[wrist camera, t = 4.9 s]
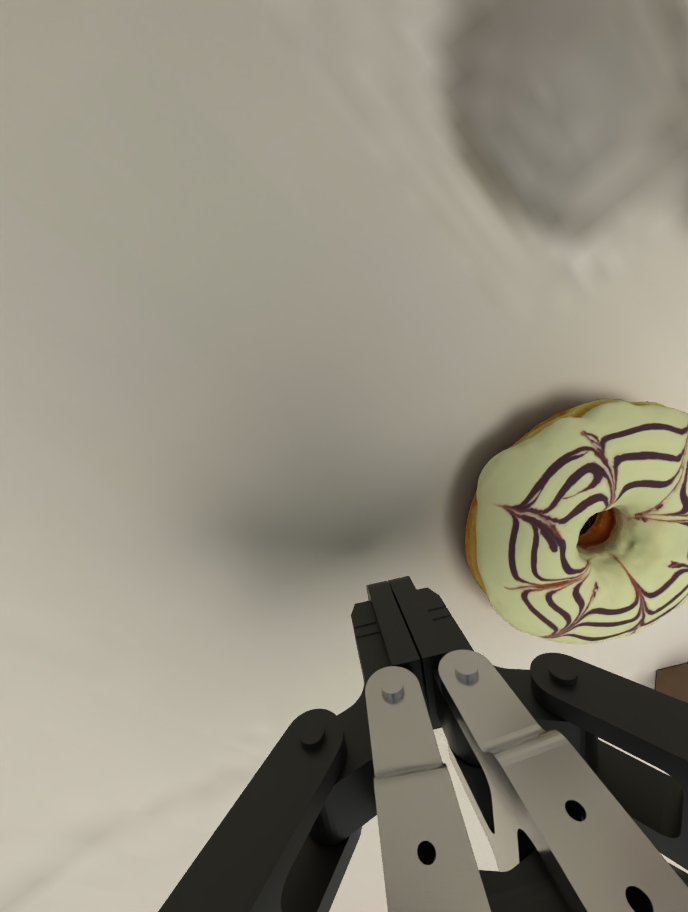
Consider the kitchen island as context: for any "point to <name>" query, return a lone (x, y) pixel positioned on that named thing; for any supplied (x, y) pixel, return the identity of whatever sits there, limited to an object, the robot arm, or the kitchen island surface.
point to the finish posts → (673, 682)
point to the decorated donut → (568, 508)
